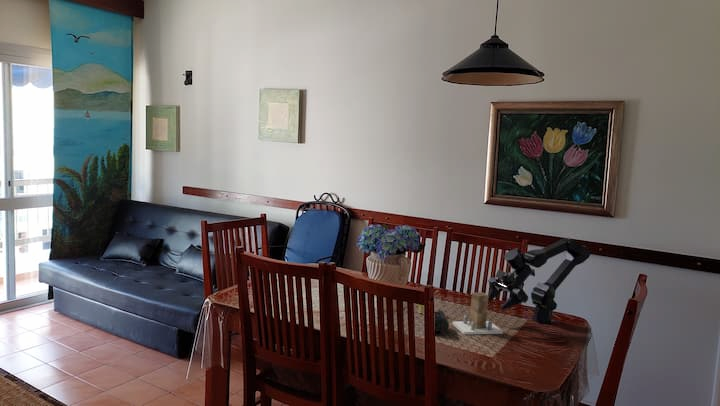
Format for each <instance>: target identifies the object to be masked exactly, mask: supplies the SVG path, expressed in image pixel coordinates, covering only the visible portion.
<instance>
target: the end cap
mask: <svg viewBox="0 0 720 406" xmlns="http://www.w3.org/2000/svg"><path fill="white" fill-rule="evenodd" d="M433 312H434V313H435V334H436V335H435V336H442V335H443V334H446V333H447V332H448V330H449V327H450V324H449V321H448V319H447V316H446V313H445V312H444V311H443V310H440V309H438V310H437V311H433Z"/></svg>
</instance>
